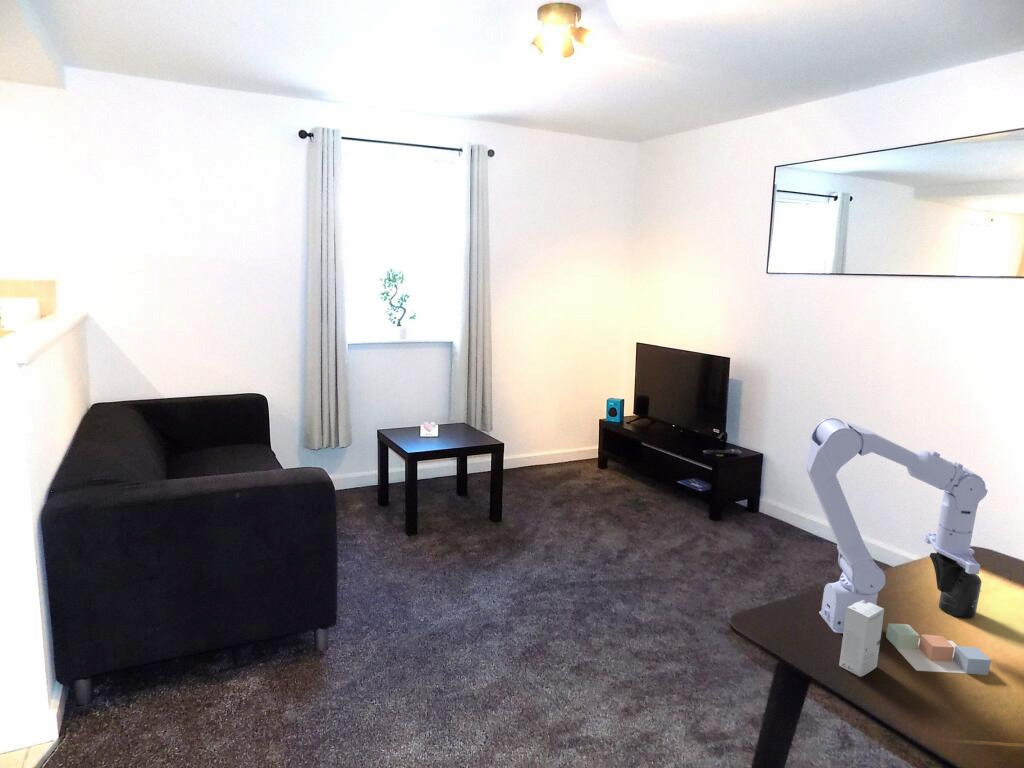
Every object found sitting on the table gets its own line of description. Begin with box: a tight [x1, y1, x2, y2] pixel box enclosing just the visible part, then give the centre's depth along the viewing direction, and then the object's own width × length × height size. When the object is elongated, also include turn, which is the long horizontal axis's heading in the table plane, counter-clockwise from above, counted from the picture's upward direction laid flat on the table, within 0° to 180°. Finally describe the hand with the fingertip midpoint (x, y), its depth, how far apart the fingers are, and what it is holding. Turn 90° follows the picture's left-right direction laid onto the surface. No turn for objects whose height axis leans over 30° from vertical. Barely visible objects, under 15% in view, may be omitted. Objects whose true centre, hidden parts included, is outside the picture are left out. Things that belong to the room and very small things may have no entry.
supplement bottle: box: [938, 572, 982, 620], centre depth 143 cm, size 7×7×12 cm
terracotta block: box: [919, 634, 954, 662], centre depth 127 cm, size 4×4×3 cm
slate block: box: [953, 645, 992, 676], centre depth 123 cm, size 4×4×3 cm
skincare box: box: [838, 600, 885, 678], centre depth 122 cm, size 6×4×12 cm
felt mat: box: [885, 636, 987, 676], centre depth 127 cm, size 13×11×1 cm
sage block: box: [885, 622, 921, 650], centre depth 130 cm, size 4×4×3 cm
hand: (944, 590), depth 133 cm, fingers closed
